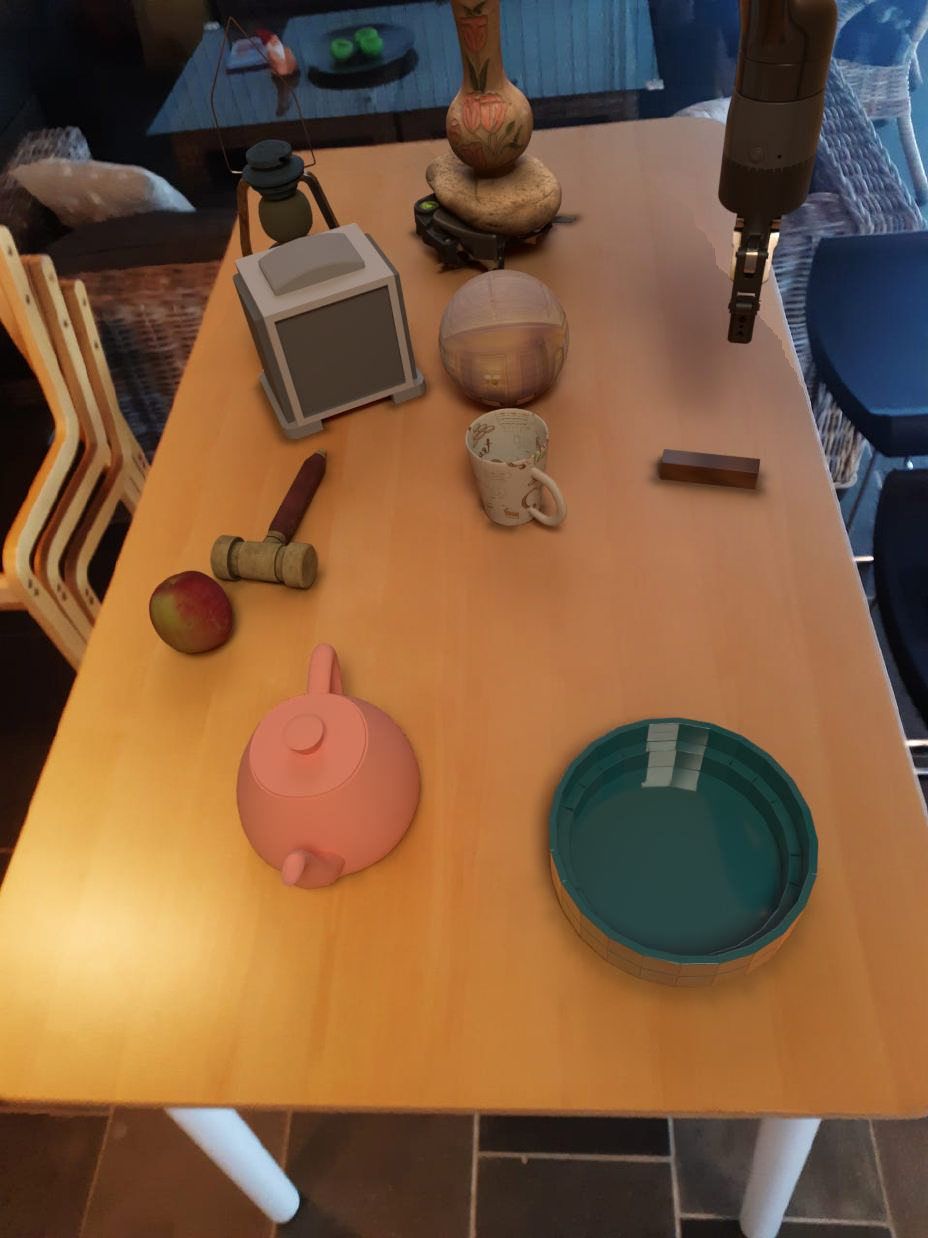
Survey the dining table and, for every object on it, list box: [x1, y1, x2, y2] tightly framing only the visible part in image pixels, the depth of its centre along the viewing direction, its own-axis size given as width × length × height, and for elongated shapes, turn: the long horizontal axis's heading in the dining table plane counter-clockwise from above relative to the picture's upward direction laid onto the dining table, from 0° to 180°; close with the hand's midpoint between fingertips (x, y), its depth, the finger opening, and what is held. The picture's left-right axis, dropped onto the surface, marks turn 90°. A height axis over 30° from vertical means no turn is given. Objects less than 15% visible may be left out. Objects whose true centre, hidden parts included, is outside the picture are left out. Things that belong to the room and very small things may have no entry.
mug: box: [464, 408, 568, 527], centre depth 90 cm, size 8×13×10 cm, turn 43°
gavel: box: [209, 447, 327, 589], centre depth 96 cm, size 21×5×10 cm
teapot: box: [235, 643, 421, 890], centre depth 70 cm, size 22×15×12 cm
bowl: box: [548, 717, 819, 988], centre depth 67 cm, size 19×19×6 cm
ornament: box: [438, 269, 570, 407], centre depth 101 cm, size 15×15×15 cm
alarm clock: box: [232, 222, 427, 440], centre depth 104 cm, size 18×13×18 cm
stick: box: [659, 448, 761, 490], centre depth 94 cm, size 10×2×2 cm, turn 74°
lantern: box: [209, 16, 341, 258], centre depth 111 cm, size 14×12×35 cm
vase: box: [413, 0, 577, 272], centre depth 116 cm, size 24×22×35 cm
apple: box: [148, 570, 234, 654], centre depth 85 cm, size 8×8×8 cm
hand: (743, 315), depth 86 cm, fingers open, 8 cm apart
